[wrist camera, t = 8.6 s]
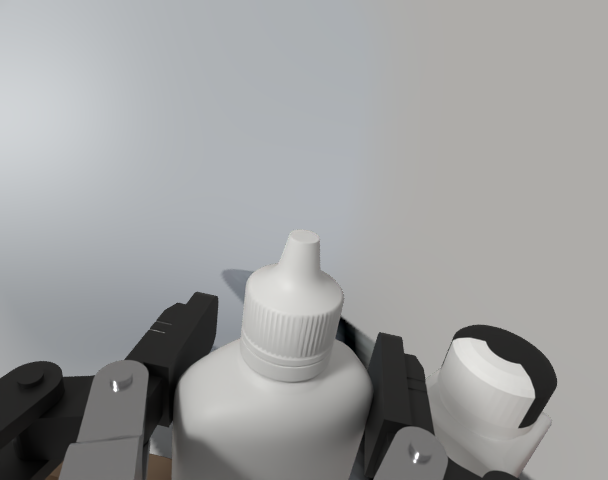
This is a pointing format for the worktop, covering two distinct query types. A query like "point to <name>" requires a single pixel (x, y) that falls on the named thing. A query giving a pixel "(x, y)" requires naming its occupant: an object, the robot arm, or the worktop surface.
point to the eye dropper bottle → (276, 384)
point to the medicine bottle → (491, 400)
